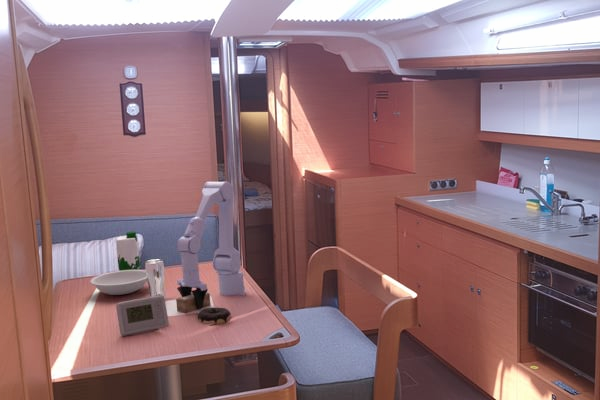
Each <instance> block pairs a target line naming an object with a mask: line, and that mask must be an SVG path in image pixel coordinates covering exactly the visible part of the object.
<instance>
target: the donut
mask: <svg viewBox="0 0 600 400" xmlns="http://www.w3.org/2000/svg"><path fill="white" fill-rule="evenodd" d="M231 314H232V313H231V312H230V310H229V309H227V308H225V307H214V308H206V309H203V310H201V311H200V312H199V313H197V321H198V322H199V323H201V324H205V325H208V324H210V325H209V327H211V326H212V327H213V326H215V327H216V326H220V325H225V324H226V323H229V321H230V320H231V318H232V316H231Z"/></svg>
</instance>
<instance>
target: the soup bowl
mask: <svg viewBox="0 0 600 400" xmlns="http://www.w3.org/2000/svg"><path fill="white" fill-rule="evenodd" d="M89 282H90V285H93V286H95V287H96V289H97V290H98V291H99V292H101V293H103V294H105V295H111V296H120V295H128V294H131V293H135V292H137V291H138V290H139V291H140V289H142V288H143V287H144V285H145V284H146V283H147V278H146V270H145V269H140V270H121V271H119V270H116V271H115V270H114V271H111V272H106V273H101V274H99V275H96V276H94V277H93V278H92V277H91V279H90V280H89Z"/></svg>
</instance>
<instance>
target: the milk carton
mask: <svg viewBox="0 0 600 400" xmlns="http://www.w3.org/2000/svg"><path fill="white" fill-rule="evenodd" d="M138 242H139V241H138V235H137V232H136V231H128V232H126V233H125V235H124V236H118V237H117V238H116V241H115V243H116V244H115V246H116V247H115V248H116V257H117V267H118V271H121V270H141V263H140V252H139V243H138Z"/></svg>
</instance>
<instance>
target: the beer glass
mask: <svg viewBox="0 0 600 400" xmlns="http://www.w3.org/2000/svg"><path fill="white" fill-rule="evenodd" d="M144 263H145V269H144V270H146V278H147V281H146V283H147V285H148V288H149V297H151V296H152V297H153V296H159V295H163V296H164V298H165V300H166V299H167V298H166V294H165V290H164V289H165V287H164V286H165V267H164V261H163V259H160V258H159V259H158V258H157V259H150V260H146V261H145V262H144Z"/></svg>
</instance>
